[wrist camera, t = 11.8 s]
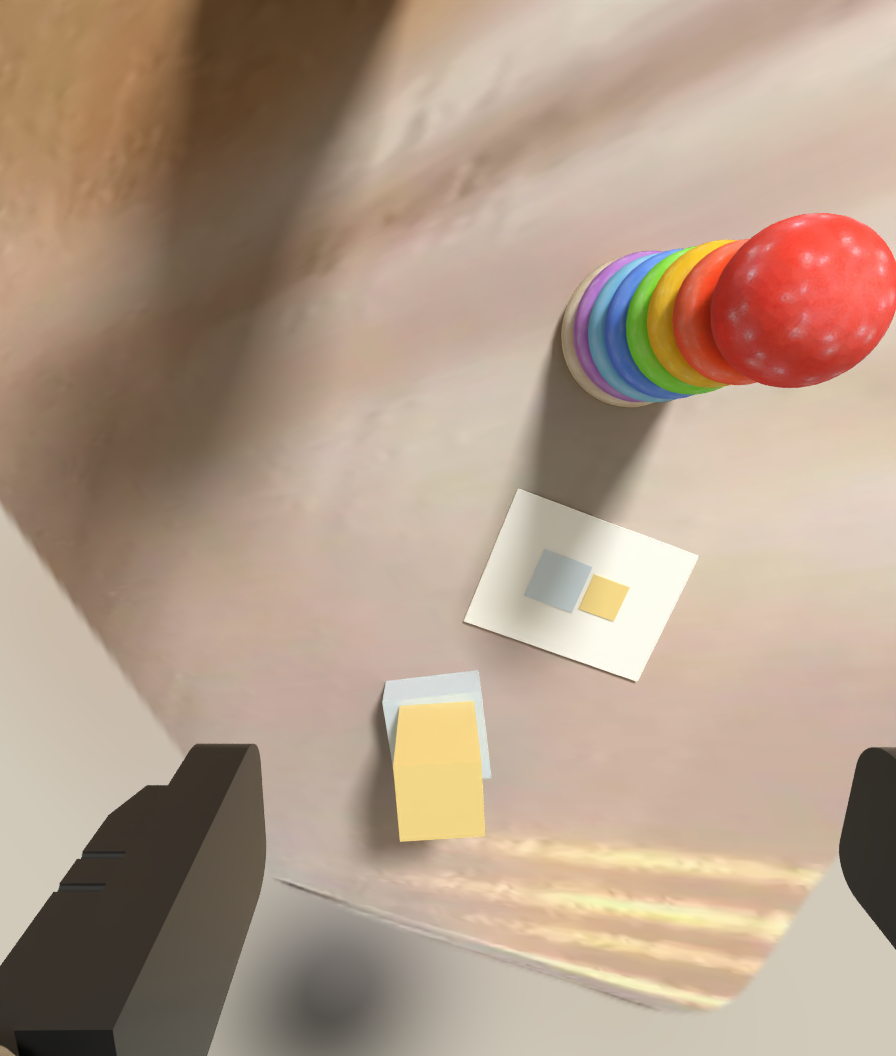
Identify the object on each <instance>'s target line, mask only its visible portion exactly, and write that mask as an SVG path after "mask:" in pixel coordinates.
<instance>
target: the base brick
mask: <svg viewBox="0 0 896 1056" xmlns="http://www.w3.org/2000/svg"><path fill="white" fill-rule="evenodd" d="M465 701H474V705H475V714H476V722H477V730H478V738H479V746H480V754H481V764H482V779H483V778H491V769H490V761H489V752H488V744H487V735H486V727H485V719H484V710H483V702H482V693H481V685H480V678H479V671H478V670H476V671H468V672H459V673H451V674H442V675H434V676H425V677H417V678H408V679H399V680H391V681H386V684H385V690H384V695H383V701H382V704H383V710H384V716H385V722H386V729H387V735H388V741H389V747H390V753H391V760H392V766H393V763H394V754H395V744H396V734H397V725H398V715H399V706H404V705H419V704H434V703H450V702H465ZM393 772H394V771H393Z"/></svg>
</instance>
